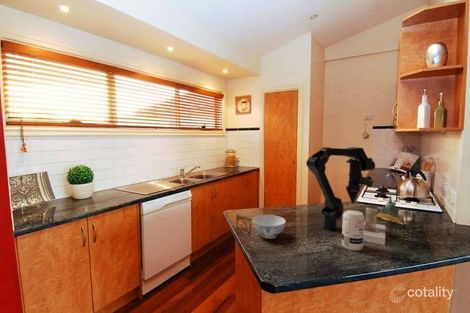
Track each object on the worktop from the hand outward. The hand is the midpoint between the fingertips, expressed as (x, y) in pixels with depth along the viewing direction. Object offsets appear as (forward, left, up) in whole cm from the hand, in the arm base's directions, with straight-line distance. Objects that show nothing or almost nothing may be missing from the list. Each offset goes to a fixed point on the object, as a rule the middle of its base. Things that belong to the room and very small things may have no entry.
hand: (354, 200), depth 131 cm
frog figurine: (+25, -6, -13) cm, 29 cm away
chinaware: (-46, +15, -13) cm, 50 cm away
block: (-6, -12, -13) cm, 19 cm away
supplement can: (-25, -14, -13) cm, 32 cm away
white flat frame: (-6, -12, -13) cm, 19 cm away
